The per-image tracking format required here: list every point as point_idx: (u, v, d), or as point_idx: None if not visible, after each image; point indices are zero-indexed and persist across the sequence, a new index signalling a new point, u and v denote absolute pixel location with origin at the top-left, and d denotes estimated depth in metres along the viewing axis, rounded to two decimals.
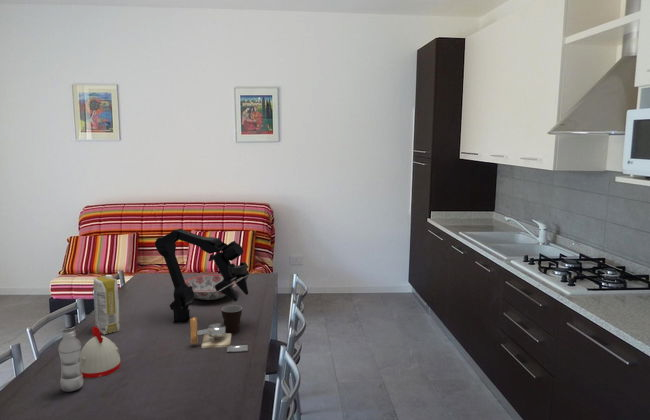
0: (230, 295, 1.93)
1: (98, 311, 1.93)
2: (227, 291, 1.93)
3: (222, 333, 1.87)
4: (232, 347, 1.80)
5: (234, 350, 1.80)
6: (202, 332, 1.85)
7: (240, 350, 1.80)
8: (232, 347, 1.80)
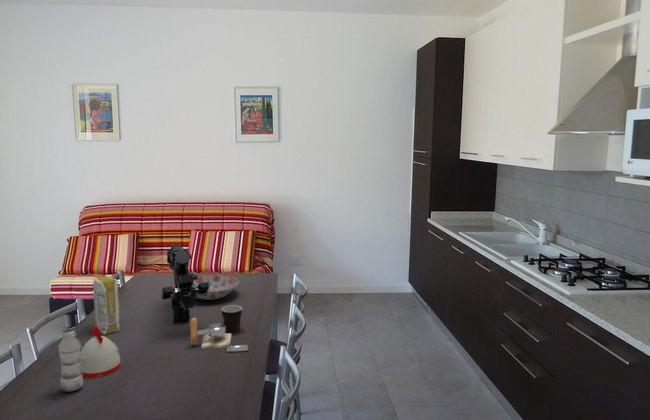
0: (181, 303, 1.91)
1: (98, 311, 1.93)
2: (180, 299, 1.92)
3: (222, 333, 1.87)
4: (232, 346, 1.81)
5: (234, 349, 1.80)
6: (202, 332, 1.85)
7: (240, 349, 1.81)
8: (232, 346, 1.80)
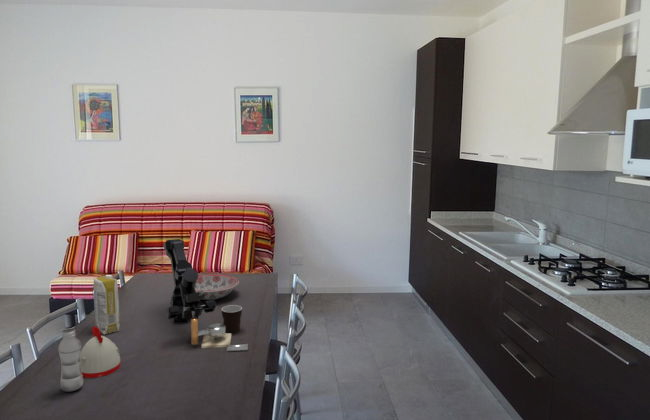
0: (190, 322, 1.86)
1: (98, 311, 1.93)
2: (189, 317, 1.88)
3: (223, 333, 1.87)
4: None
5: (234, 347, 1.81)
6: (203, 332, 1.85)
7: (240, 347, 1.81)
8: (232, 345, 1.82)
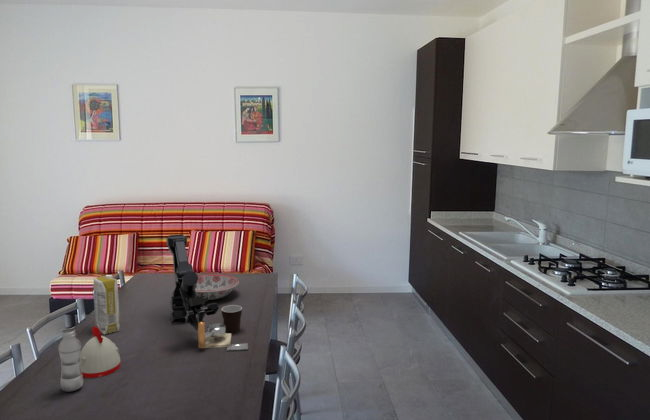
0: (194, 326, 1.83)
1: (98, 311, 1.93)
2: (192, 321, 1.84)
3: (225, 331, 1.89)
4: None
5: (234, 345, 1.82)
6: (208, 334, 1.83)
7: (240, 345, 1.82)
8: None
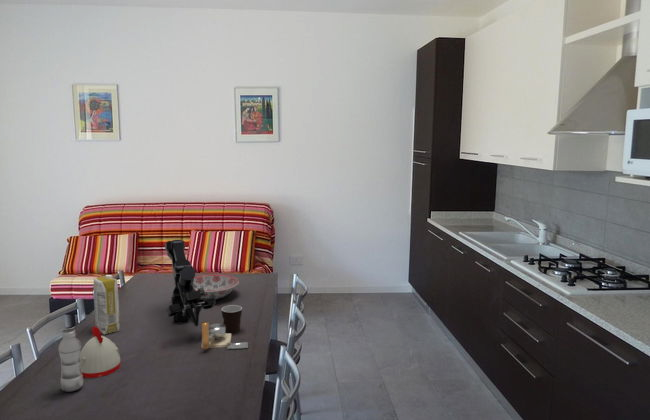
0: (191, 319, 1.87)
1: (98, 311, 1.93)
2: (189, 315, 1.88)
3: (225, 330, 1.89)
4: None
5: None
6: (211, 335, 1.83)
7: (240, 342, 1.84)
8: None
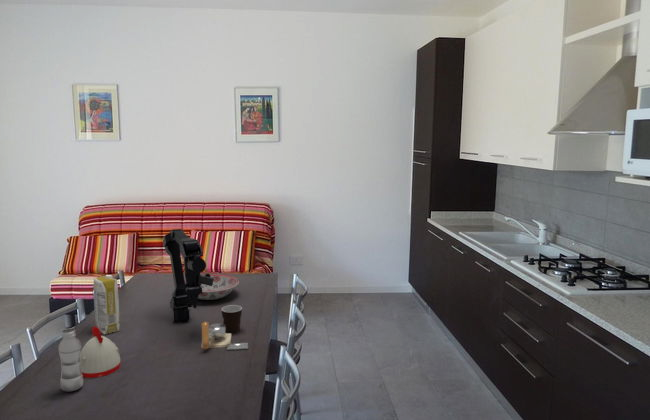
0: (193, 300, 1.92)
1: (98, 311, 1.93)
2: (192, 296, 1.91)
3: (225, 330, 1.89)
4: None
5: (234, 343, 1.83)
6: (211, 335, 1.83)
7: (240, 343, 1.83)
8: None
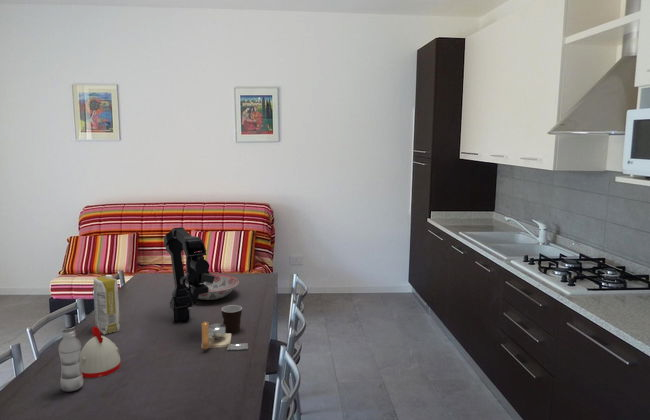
0: (194, 298, 1.93)
1: (98, 311, 1.93)
2: None
3: (225, 330, 1.89)
4: None
5: (234, 344, 1.82)
6: (211, 335, 1.83)
7: (240, 344, 1.82)
8: None
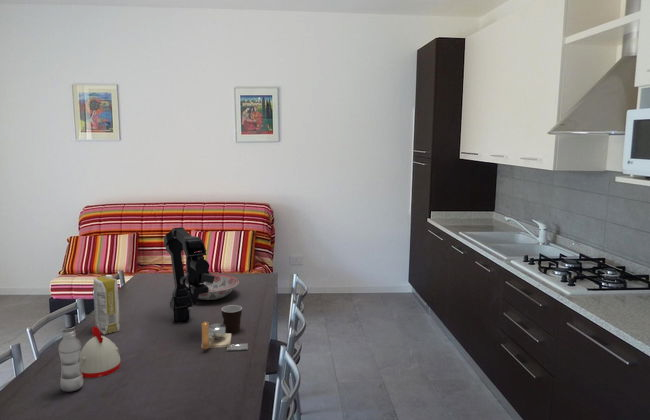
0: (194, 298, 1.93)
1: (98, 311, 1.93)
2: None
3: (225, 330, 1.89)
4: None
5: (234, 345, 1.82)
6: (211, 335, 1.83)
7: (240, 345, 1.82)
8: None
